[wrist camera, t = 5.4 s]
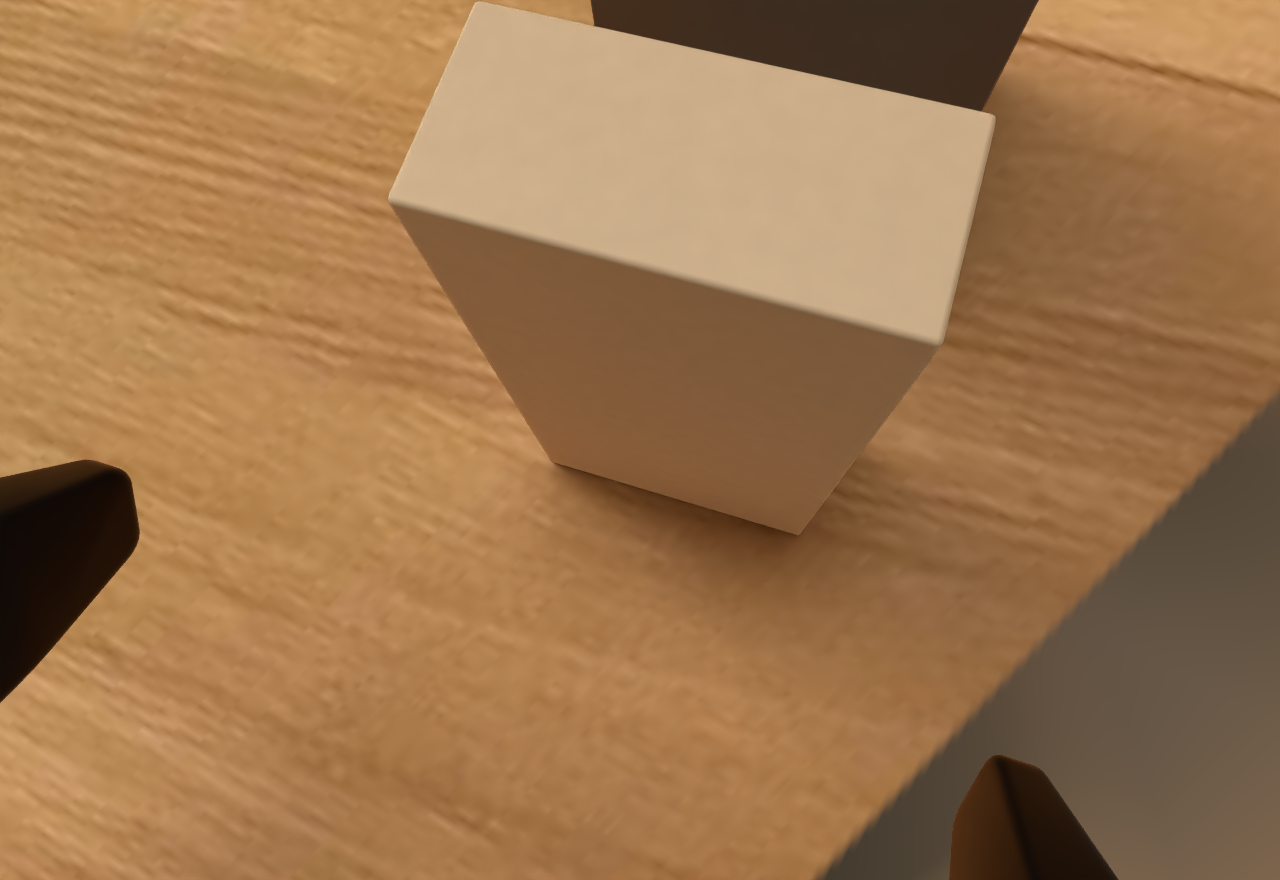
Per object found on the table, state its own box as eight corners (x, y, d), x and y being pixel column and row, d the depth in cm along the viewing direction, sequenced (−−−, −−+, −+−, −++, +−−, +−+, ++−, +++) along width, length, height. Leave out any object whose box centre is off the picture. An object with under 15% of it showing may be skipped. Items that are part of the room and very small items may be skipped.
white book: (799, 536, 20) (945, 345, 9) (549, 461, 21) (383, 200, 10) (830, 423, 21) (999, 112, 10) (587, 356, 22) (474, -4, 10)
